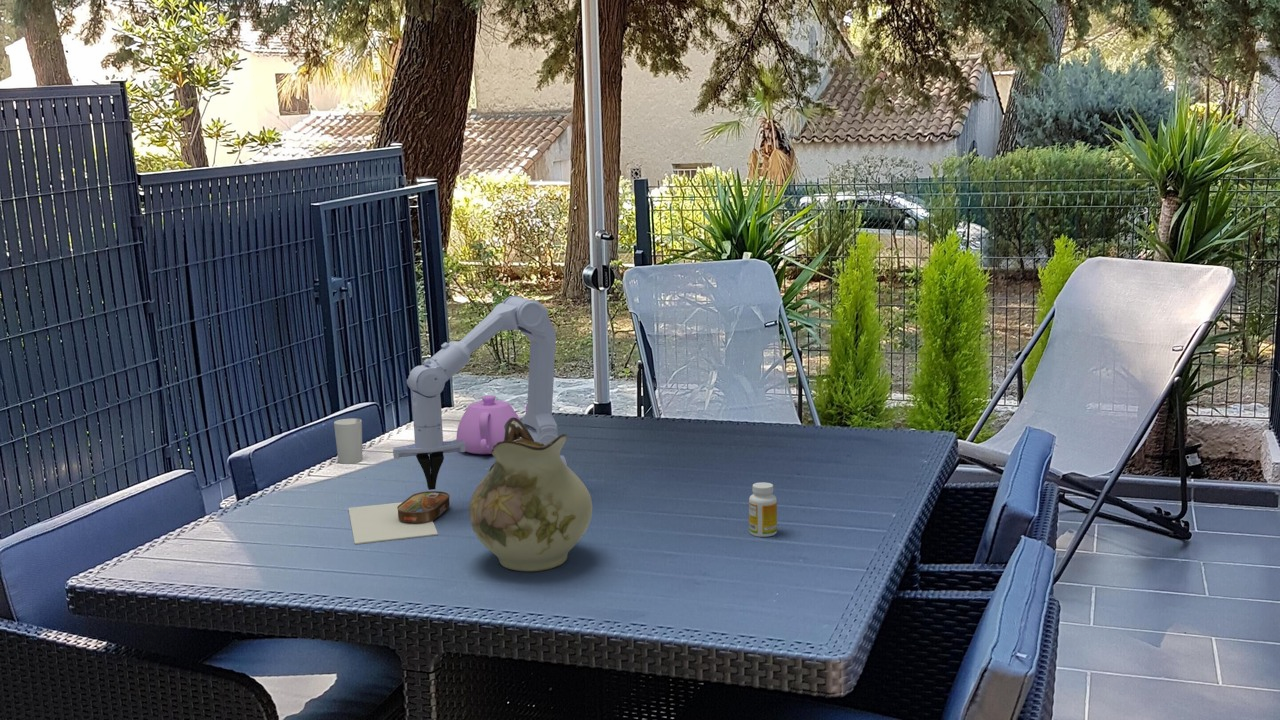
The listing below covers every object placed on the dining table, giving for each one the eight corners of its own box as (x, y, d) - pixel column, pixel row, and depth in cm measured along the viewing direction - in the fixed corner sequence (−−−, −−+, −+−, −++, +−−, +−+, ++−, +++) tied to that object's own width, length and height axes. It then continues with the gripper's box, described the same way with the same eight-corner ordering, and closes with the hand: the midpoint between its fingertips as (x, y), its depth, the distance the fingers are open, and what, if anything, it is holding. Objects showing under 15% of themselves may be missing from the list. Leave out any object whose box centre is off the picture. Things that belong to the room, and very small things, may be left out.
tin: (429, 512, 234) (390, 508, 236) (429, 527, 235) (390, 523, 236) (455, 491, 249) (418, 487, 250) (455, 505, 249) (418, 501, 251)
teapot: (538, 459, 284) (536, 404, 282) (450, 461, 285) (447, 406, 282) (546, 437, 306) (544, 386, 304) (464, 439, 306) (462, 388, 304)
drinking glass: (370, 459, 288) (367, 420, 286) (350, 465, 282) (347, 425, 281) (350, 456, 291) (348, 417, 290) (330, 462, 286) (328, 422, 284)
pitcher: (545, 590, 199) (539, 449, 195) (441, 567, 212) (433, 433, 207) (616, 551, 218) (613, 421, 213) (517, 532, 230) (511, 409, 226)
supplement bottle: (779, 529, 228) (779, 482, 226) (773, 538, 223) (773, 489, 221) (752, 527, 230) (752, 480, 228) (746, 536, 225) (745, 487, 223)
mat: (424, 501, 252) (424, 499, 252) (437, 535, 229) (437, 533, 229) (348, 509, 248) (348, 507, 248) (354, 544, 225) (354, 543, 225)
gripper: (460, 417, 243) (463, 479, 246) (390, 423, 239) (394, 486, 242) (465, 424, 237) (468, 488, 239) (393, 430, 232) (397, 496, 235)
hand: (431, 488), depth 240 cm, fingers closed
